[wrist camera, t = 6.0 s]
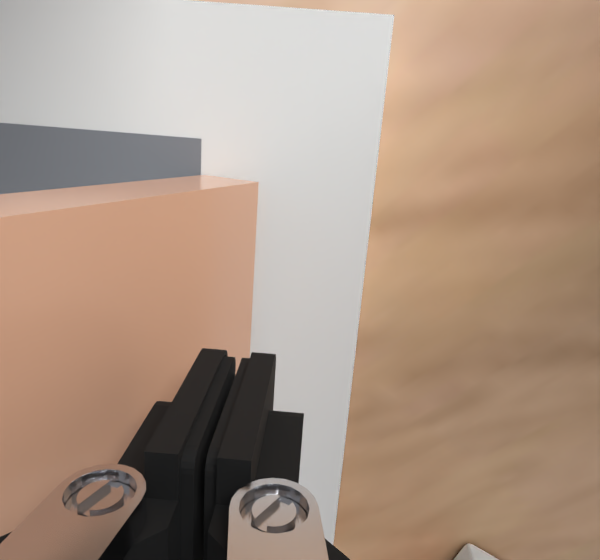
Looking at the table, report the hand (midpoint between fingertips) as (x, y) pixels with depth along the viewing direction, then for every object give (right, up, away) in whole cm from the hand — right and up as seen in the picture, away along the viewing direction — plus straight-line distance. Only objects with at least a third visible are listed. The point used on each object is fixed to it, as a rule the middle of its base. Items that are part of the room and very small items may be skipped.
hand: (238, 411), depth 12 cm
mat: (-5, +2, +6) cm, 8 cm away
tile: (-1, +1, +4) cm, 5 cm away
